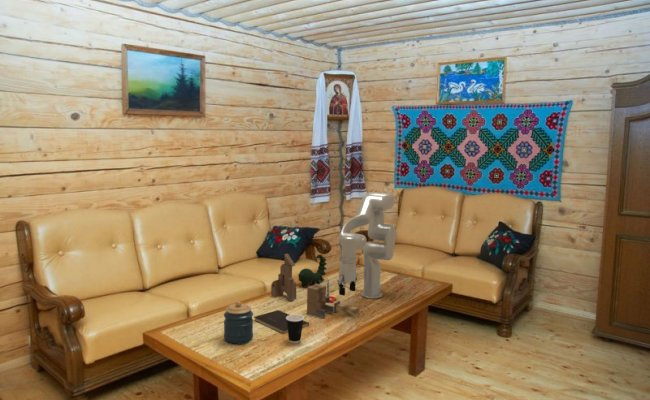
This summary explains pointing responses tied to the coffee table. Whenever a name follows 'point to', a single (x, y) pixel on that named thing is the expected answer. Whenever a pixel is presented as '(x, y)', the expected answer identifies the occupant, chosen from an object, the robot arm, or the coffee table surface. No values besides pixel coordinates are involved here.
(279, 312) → the hardcover book
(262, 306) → the coffee table surface
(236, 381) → the coffee table surface
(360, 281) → the coffee table surface
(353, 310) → the bed rail
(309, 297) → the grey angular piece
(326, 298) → the tow hook
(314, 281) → the toy figurine
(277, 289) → the wooden toy
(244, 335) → the canister
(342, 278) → the robot arm
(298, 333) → the dixie cup
